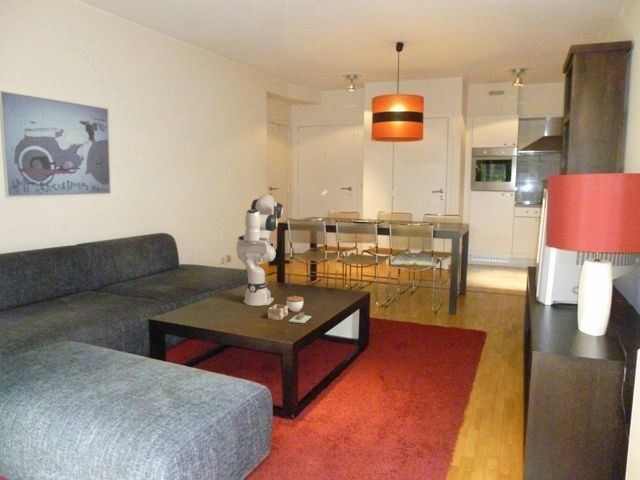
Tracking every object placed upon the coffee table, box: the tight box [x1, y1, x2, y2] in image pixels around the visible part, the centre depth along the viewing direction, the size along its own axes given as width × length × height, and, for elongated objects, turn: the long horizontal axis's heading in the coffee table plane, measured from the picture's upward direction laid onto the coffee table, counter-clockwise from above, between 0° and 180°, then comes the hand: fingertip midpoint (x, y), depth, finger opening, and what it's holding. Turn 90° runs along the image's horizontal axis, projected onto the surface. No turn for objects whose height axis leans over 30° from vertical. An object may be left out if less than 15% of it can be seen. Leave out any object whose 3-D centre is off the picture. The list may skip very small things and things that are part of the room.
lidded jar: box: [286, 295, 305, 312], centre depth 312 cm, size 11×11×9 cm
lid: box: [288, 312, 312, 324], centre depth 290 cm, size 13×9×4 cm
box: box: [267, 303, 289, 321], centre depth 296 cm, size 12×8×6 cm, turn 162°
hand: (253, 260), depth 292 cm, fingers open, 8 cm apart
